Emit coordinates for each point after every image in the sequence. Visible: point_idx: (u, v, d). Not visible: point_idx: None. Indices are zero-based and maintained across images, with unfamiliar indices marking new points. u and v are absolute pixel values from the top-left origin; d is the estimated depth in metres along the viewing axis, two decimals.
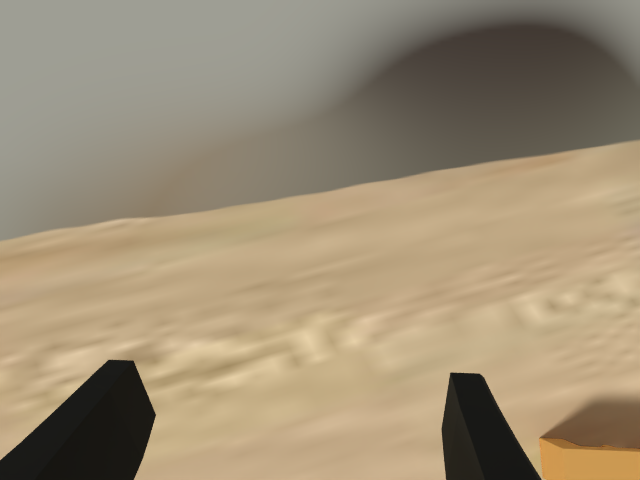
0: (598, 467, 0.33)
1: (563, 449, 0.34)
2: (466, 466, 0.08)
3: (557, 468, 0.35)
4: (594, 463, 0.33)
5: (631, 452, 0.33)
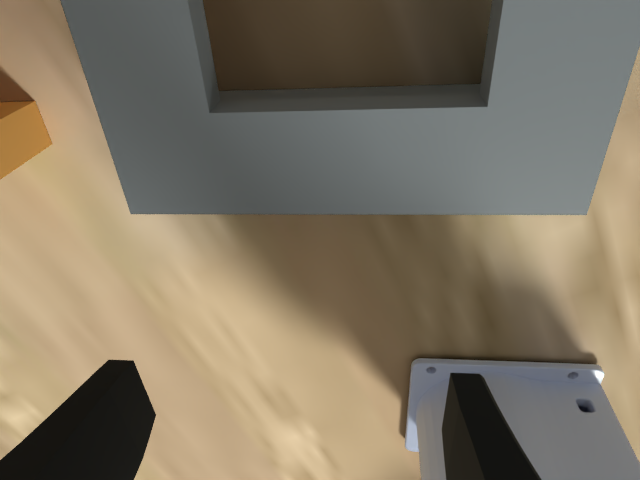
0: None
1: None
2: (466, 466, 0.08)
3: None
4: None
5: None
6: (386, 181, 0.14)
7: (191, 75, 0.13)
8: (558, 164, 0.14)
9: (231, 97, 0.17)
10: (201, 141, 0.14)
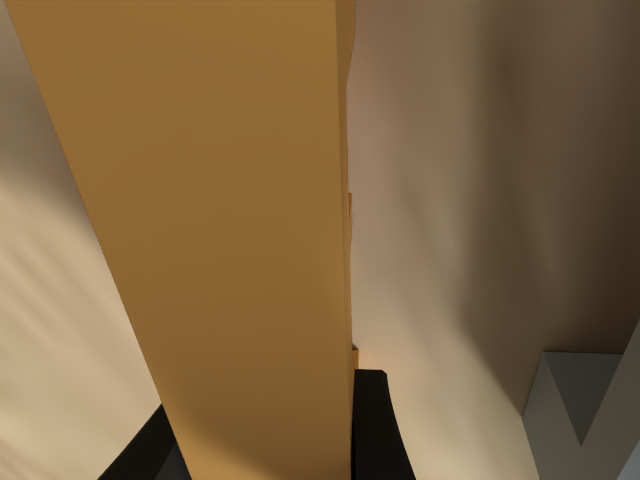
0: None
1: None
2: None
3: None
4: None
5: (179, 436, 0.08)
6: None
7: None
8: None
9: None
10: None
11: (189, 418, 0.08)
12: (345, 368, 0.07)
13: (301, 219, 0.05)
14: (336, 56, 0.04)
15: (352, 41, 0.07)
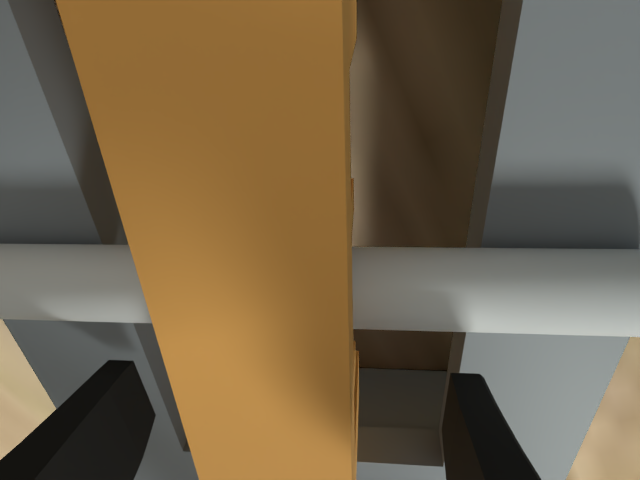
0: None
1: None
2: (466, 466, 0.08)
3: None
4: None
5: (183, 415, 0.08)
6: None
7: (164, 430, 0.14)
8: None
9: None
10: (176, 466, 0.15)
11: (194, 394, 0.08)
12: (347, 337, 0.07)
13: (307, 182, 0.06)
14: (342, 25, 0.05)
15: (354, 39, 0.08)
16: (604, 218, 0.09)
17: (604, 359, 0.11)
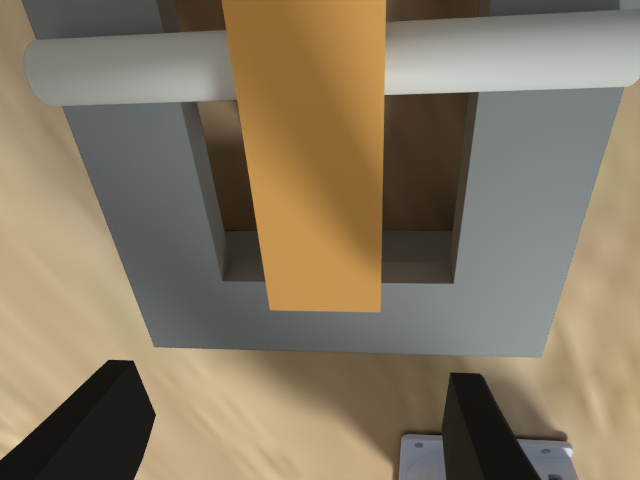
0: (305, 237, 0.11)
1: (272, 307, 0.13)
2: (466, 466, 0.08)
3: None
4: (296, 246, 0.11)
5: (247, 145, 0.10)
6: (371, 330, 0.17)
7: (207, 256, 0.16)
8: (515, 323, 0.16)
9: (239, 241, 0.19)
10: (215, 300, 0.17)
11: (257, 119, 0.10)
12: (384, 44, 0.09)
13: None
14: None
15: None
16: None
17: (592, 147, 0.12)
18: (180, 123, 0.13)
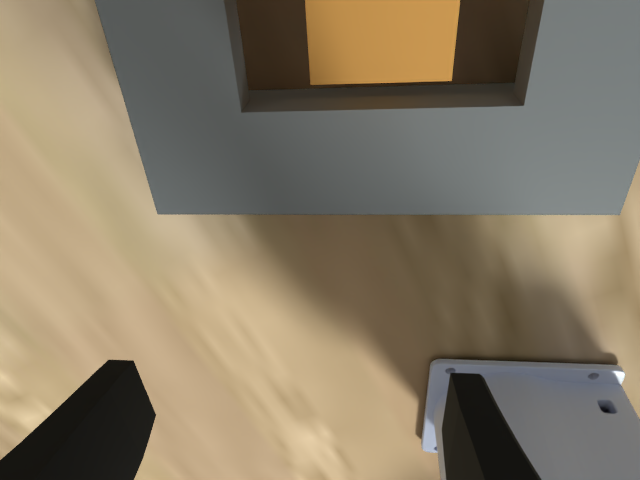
0: None
1: (313, 80, 0.10)
2: (466, 466, 0.08)
3: None
4: None
5: None
6: (418, 181, 0.14)
7: (224, 74, 0.13)
8: (593, 164, 0.13)
9: (257, 96, 0.17)
10: (232, 141, 0.14)
11: None
12: None
13: None
14: None
15: None
16: None
17: None
18: None
